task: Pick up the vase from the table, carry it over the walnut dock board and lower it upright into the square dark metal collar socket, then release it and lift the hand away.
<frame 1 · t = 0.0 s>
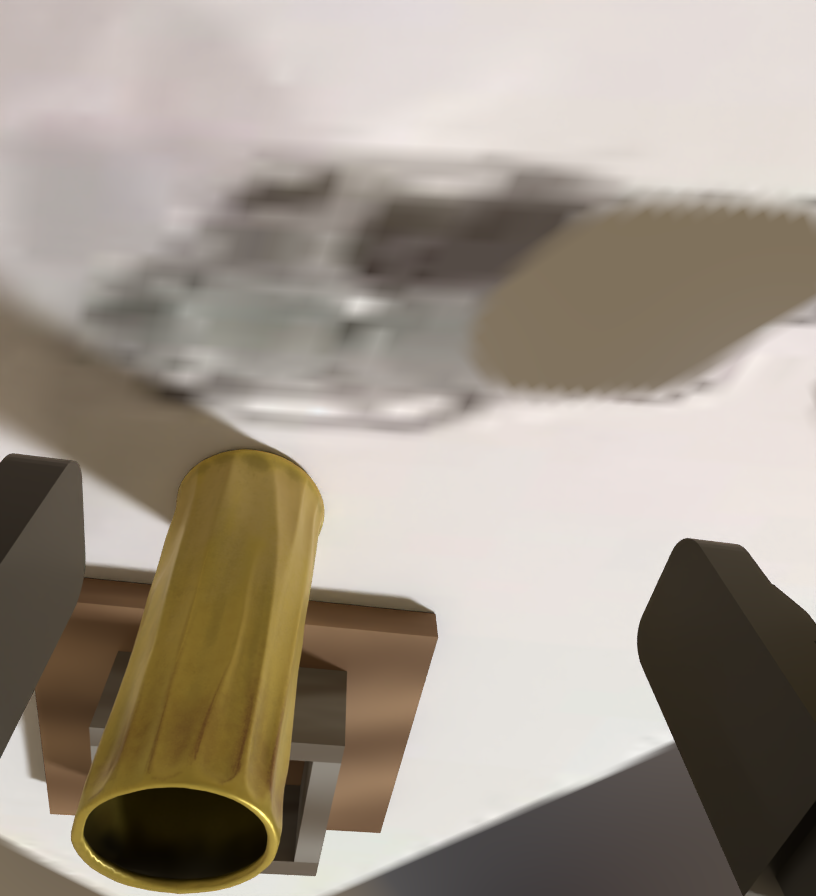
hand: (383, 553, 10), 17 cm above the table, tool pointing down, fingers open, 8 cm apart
dock: (233, 707, 37), on the table
vase: (252, 504, 31), on the table
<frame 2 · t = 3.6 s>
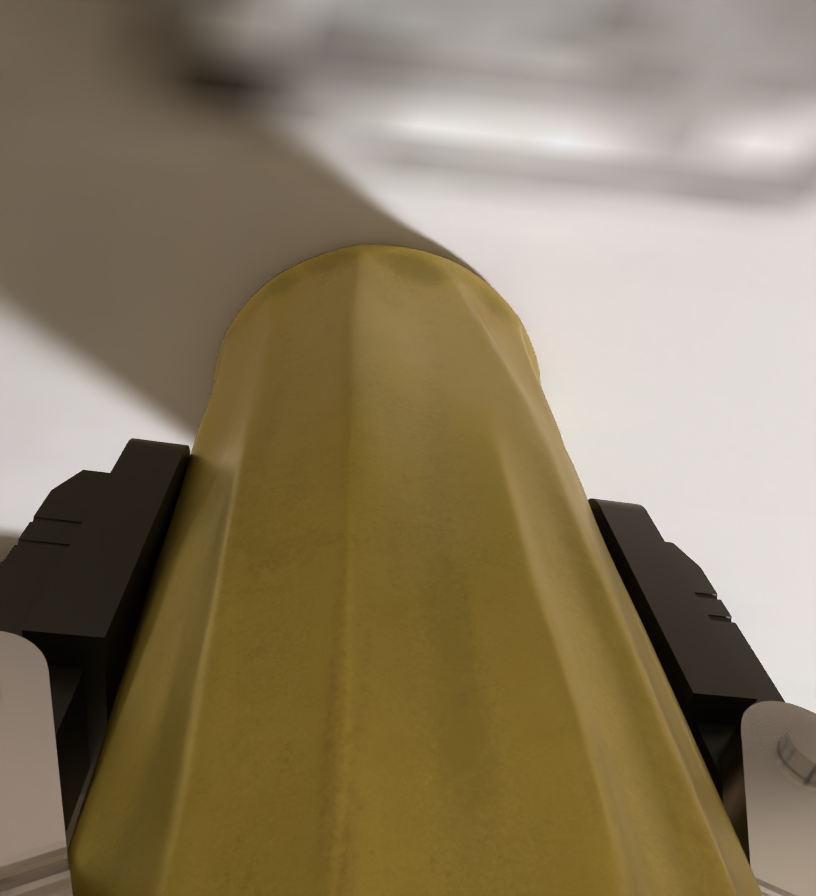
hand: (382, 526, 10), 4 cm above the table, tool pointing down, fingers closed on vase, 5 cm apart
dock: (302, 814, 20), on the table
vase: (378, 396, 14), on the table, touching gripper
when the fingers open (6 cm above the table, at t = 9.8 s): vase stays where it is, resting on dock.
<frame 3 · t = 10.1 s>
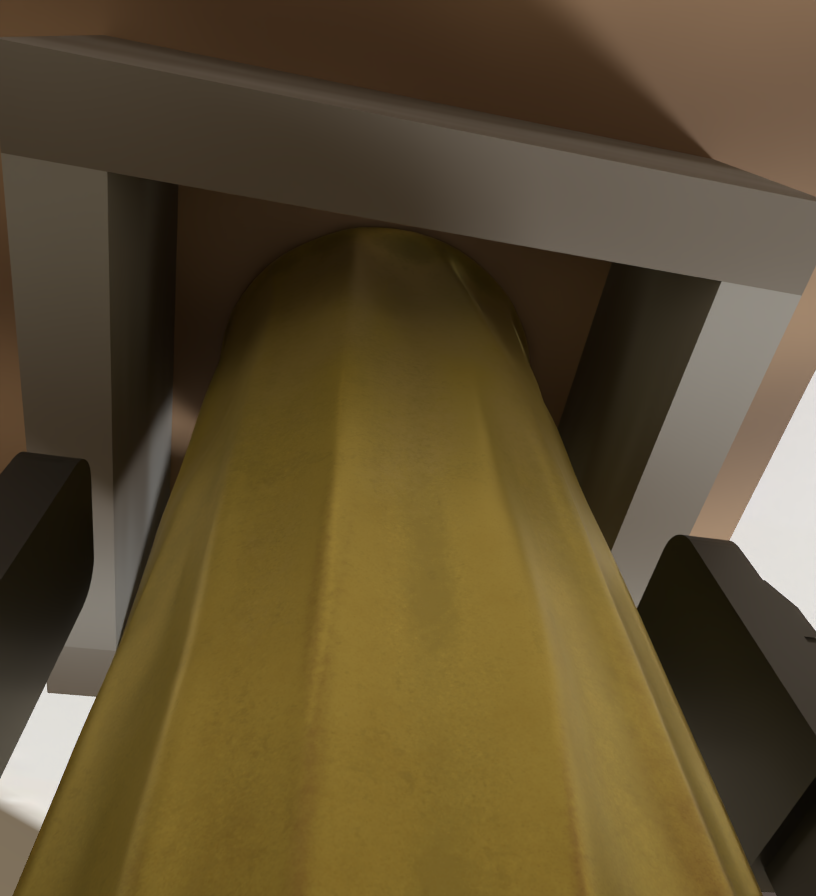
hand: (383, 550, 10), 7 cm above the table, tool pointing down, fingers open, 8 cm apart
dock: (375, 351, 16), on the table
vase: (376, 374, 15), point 1 cm above the table, touching dock
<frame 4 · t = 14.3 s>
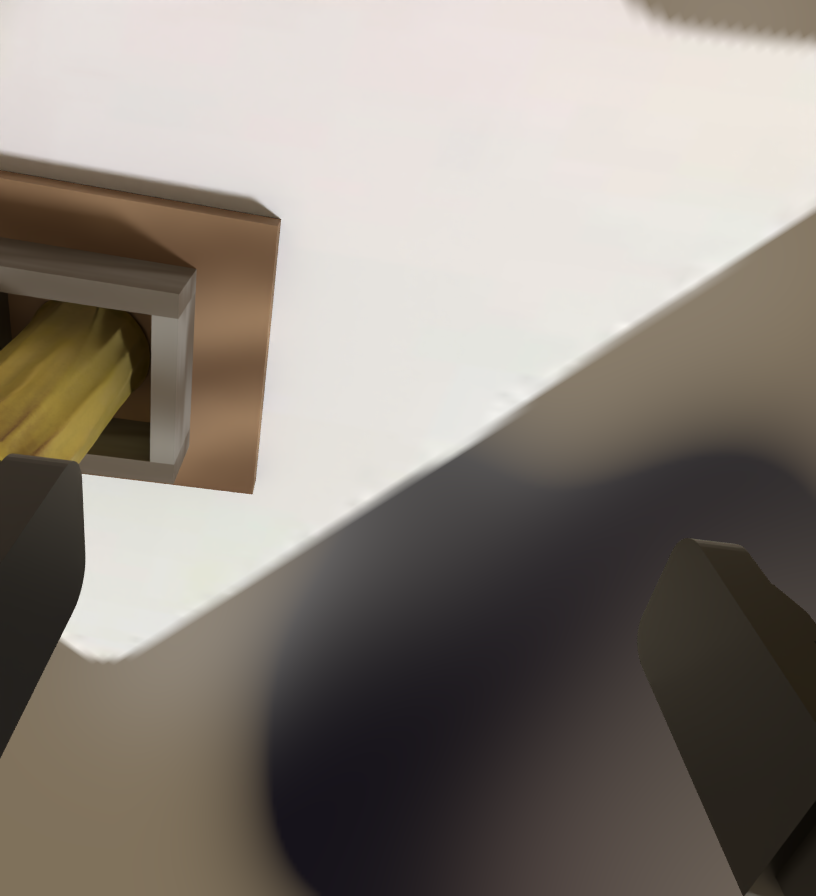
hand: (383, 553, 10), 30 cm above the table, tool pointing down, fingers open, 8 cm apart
dock: (100, 338, 39), on the table
vase: (92, 346, 38), point 1 cm above the table, touching dock
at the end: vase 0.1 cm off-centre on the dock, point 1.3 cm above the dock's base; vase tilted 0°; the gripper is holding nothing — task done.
